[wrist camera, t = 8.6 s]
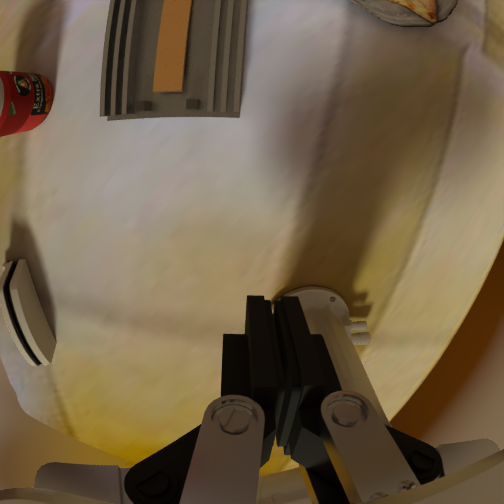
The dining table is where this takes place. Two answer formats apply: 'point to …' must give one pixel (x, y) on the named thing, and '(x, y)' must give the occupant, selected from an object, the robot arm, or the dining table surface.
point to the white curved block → (25, 314)
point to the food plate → (409, 11)
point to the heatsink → (196, 62)
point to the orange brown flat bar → (172, 46)
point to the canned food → (23, 101)
